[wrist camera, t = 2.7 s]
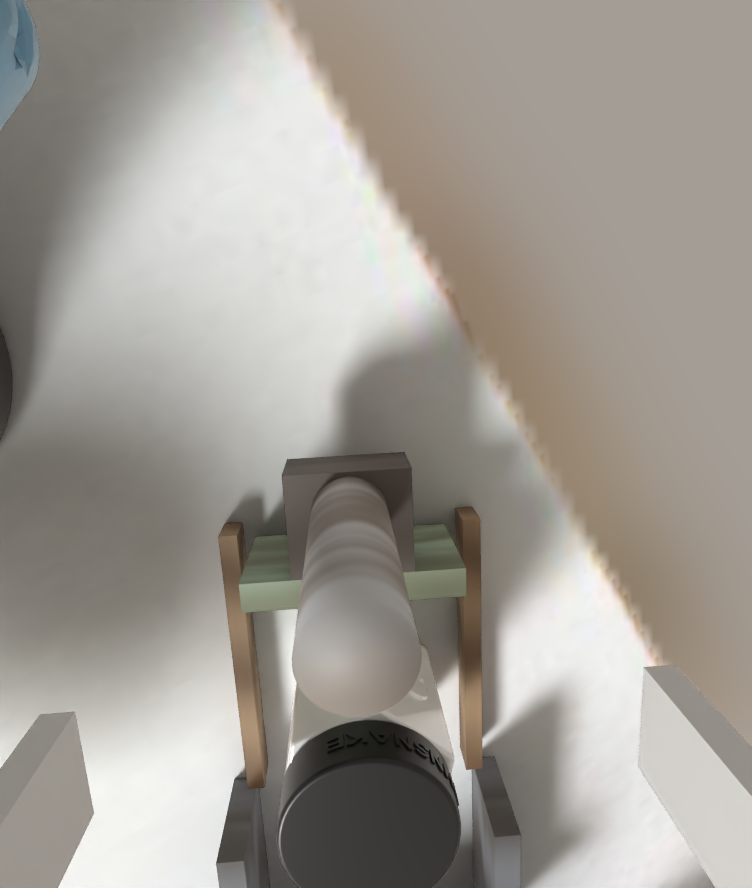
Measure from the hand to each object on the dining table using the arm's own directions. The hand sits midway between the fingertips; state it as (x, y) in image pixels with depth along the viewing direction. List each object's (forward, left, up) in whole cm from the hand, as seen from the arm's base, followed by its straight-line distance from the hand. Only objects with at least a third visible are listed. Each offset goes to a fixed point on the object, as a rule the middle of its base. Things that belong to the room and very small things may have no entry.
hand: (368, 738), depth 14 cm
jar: (+13, 0, -22) cm, 25 cm away
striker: (+1, 0, -21) cm, 21 cm away
